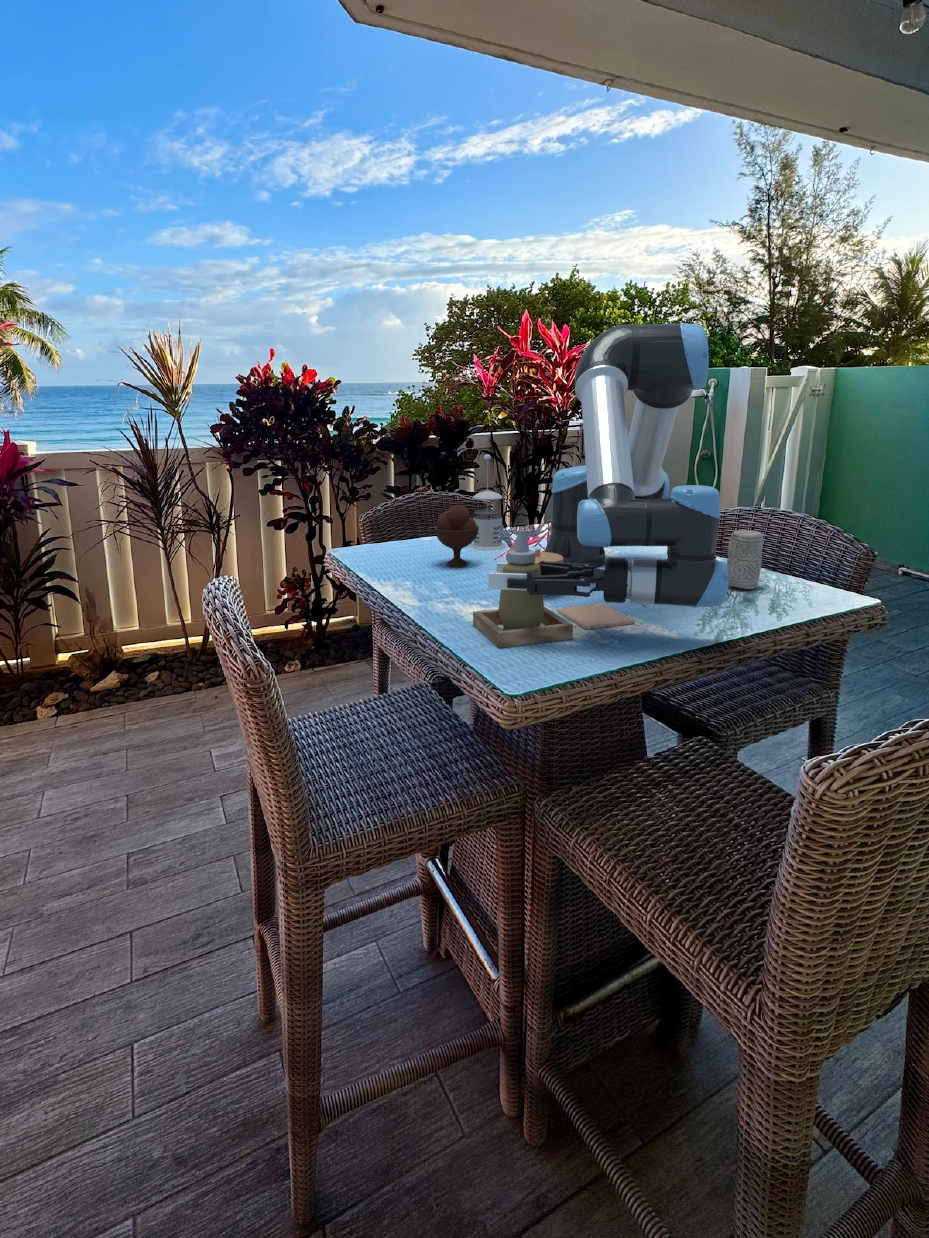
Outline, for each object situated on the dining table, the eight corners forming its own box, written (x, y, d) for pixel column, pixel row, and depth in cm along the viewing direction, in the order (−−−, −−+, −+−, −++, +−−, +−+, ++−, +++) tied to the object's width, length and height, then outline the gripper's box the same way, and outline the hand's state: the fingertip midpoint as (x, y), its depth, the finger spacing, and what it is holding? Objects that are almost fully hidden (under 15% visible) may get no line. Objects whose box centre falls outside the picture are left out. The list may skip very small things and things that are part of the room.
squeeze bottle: (541, 640, 122) (543, 535, 116) (494, 637, 123) (494, 534, 118) (546, 625, 129) (548, 527, 124) (501, 623, 131) (501, 526, 125)
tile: (603, 606, 140) (603, 603, 140) (635, 623, 129) (635, 620, 129) (556, 611, 138) (556, 608, 137) (585, 629, 127) (585, 626, 126)
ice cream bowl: (487, 562, 178) (486, 502, 174) (463, 572, 170) (462, 508, 165) (451, 558, 184) (450, 500, 179) (426, 567, 175) (424, 505, 171)
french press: (467, 550, 194) (466, 455, 186) (474, 541, 205) (473, 452, 197) (503, 550, 192) (503, 455, 185) (508, 542, 203) (508, 452, 196)
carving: (765, 588, 151) (772, 532, 148) (742, 593, 148) (748, 536, 144) (740, 582, 156) (746, 527, 153) (717, 587, 153) (722, 531, 149)
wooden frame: (540, 617, 134) (540, 604, 133) (572, 638, 122) (572, 624, 121) (473, 624, 130) (472, 611, 130) (498, 648, 118) (498, 633, 117)
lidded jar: (529, 602, 144) (529, 556, 141) (502, 590, 153) (502, 547, 150) (572, 595, 149) (574, 550, 146) (544, 584, 158) (544, 542, 155)
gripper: (626, 619, 111) (481, 612, 116) (628, 587, 129) (503, 582, 135) (628, 572, 109) (481, 567, 114) (630, 546, 127) (503, 543, 132)
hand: (493, 575), depth 124 cm, fingers open, 7 cm apart
